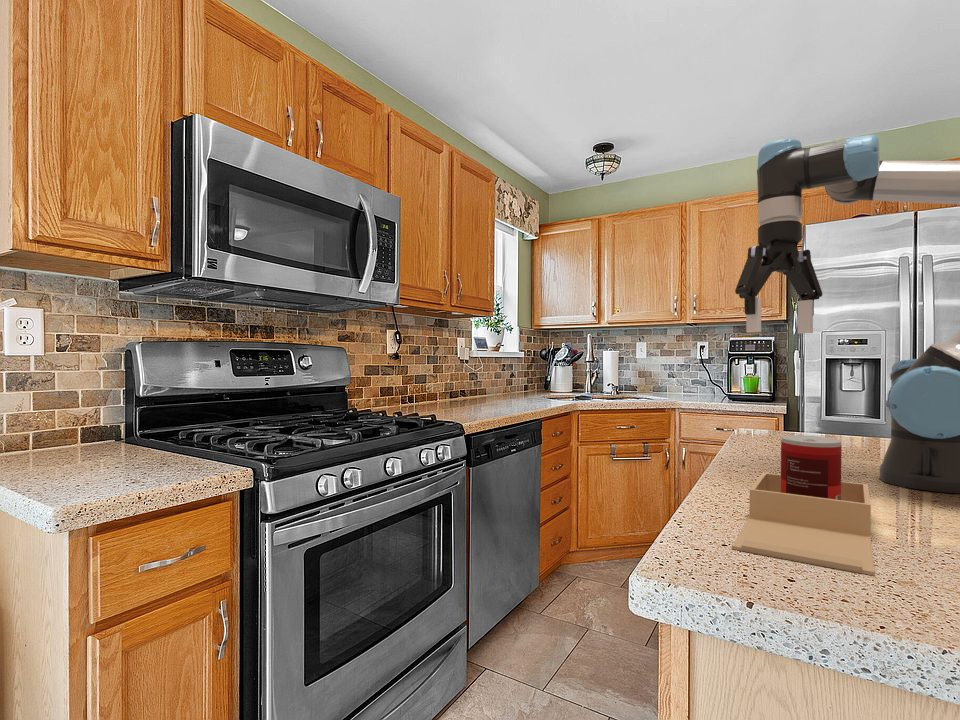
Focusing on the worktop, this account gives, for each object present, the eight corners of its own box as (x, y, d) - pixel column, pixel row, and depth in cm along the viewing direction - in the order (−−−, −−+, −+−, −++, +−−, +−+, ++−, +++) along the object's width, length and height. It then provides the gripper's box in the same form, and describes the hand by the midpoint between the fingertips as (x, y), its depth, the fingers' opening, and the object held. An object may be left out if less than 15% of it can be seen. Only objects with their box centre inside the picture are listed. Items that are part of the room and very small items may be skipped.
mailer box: (762, 499, 90) (762, 472, 90) (867, 513, 82) (867, 484, 82) (731, 549, 66) (731, 512, 66) (874, 576, 58) (874, 534, 58)
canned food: (822, 506, 84) (823, 435, 84) (853, 521, 76) (854, 443, 76) (770, 504, 85) (771, 434, 84) (796, 519, 77) (796, 442, 77)
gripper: (807, 233, 113) (808, 334, 113) (714, 222, 104) (715, 332, 104) (843, 224, 106) (843, 332, 106) (746, 212, 97) (747, 330, 97)
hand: (780, 333), depth 105 cm, fingers open, 13 cm apart
